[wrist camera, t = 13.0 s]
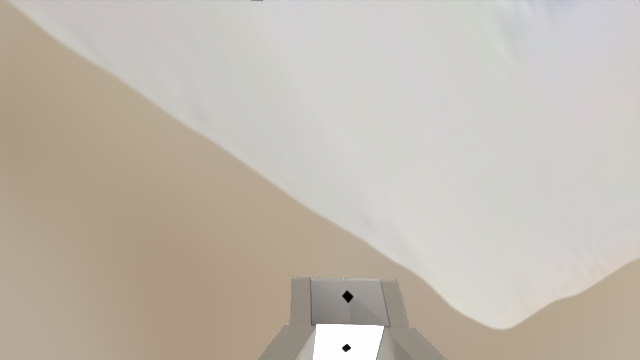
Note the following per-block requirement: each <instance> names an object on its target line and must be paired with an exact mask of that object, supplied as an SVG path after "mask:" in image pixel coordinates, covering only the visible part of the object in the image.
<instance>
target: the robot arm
mask: <svg viewBox="0 0 640 360" xmlns="http://www.w3.org/2000/svg"><path fill="white" fill-rule="evenodd" d="M258 360H447V359H446V358H445V357H444V356H443V355H442V354H441V353H440V352H439V351H438V350H437V349H436V348H435V347H434V346H433V345H432V344H431V343H430V342H429V341H428V340H427V339H426V338H425V337H424V336H423V335H422V334H421V333H420V332H419V331H418V330H417V329H416V328H410V325H409V320H408V317H407V313H406V309H405V305H404V301H403V297H402V293H401V289H400V285H399V282H398V281H397V280H391V279H379V280H378V279H352V278H350V279H349V278H344V279H341V278H339V279H338V278H324V277H301V276H292V282H291V299H290V314H289V325H285V326H284V327H283V328H282V329H281V331H280V332H279V333H278V334H277V336H276V337H275V338H274V339H273V341H272V342H271V343H270V345H269V346H268V347H267V348H266V350H265V351H264V352H263V353H262V355H261V356H260V357H259V359H258Z"/></svg>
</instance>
